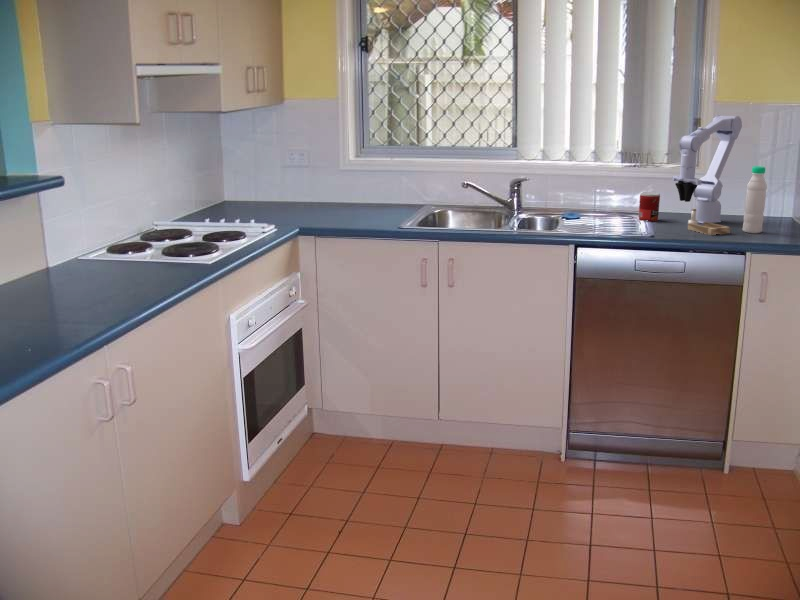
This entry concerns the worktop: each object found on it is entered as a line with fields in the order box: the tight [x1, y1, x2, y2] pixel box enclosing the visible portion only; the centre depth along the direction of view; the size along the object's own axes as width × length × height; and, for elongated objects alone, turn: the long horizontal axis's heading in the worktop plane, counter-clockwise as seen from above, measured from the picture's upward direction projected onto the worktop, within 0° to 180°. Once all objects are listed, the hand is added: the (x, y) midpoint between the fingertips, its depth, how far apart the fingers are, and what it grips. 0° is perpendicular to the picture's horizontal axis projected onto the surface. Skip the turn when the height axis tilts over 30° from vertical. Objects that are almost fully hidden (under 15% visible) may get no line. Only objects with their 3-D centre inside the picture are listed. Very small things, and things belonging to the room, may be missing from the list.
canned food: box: [638, 191, 661, 222], centre depth 362 cm, size 8×8×11 cm
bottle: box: [687, 208, 699, 225], centre depth 345 cm, size 4×4×8 cm
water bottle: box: [742, 166, 768, 234], centre depth 334 cm, size 7×7×25 cm
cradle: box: [687, 222, 731, 236], centre depth 338 cm, size 9×13×2 cm
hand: (685, 201), depth 348 cm, fingers open, 2 cm apart
